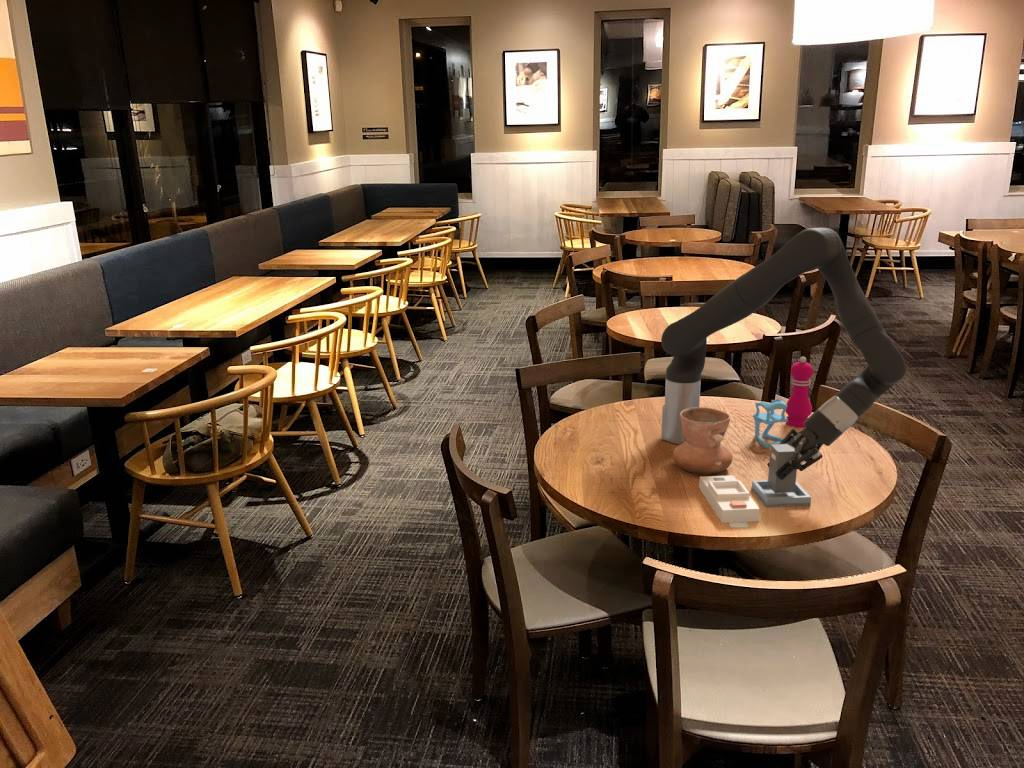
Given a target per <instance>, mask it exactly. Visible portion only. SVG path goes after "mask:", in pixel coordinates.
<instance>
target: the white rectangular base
mask: <svg viewBox="0 0 1024 768" xmlns="http://www.w3.org/2000/svg"><path fill="white" fill-rule="evenodd" d="M698 485H699V486H698V489H699V490H700V493H702V494H703V497H705V499H706V501H707V503H708V504H709V505H710V507H711V509H712V510H713V511H714V513H715V515H716V516H717V518H718V519H719V520H720V523H721V524H727V523H728V524H729V523H731V524H732V523H752V522H759V521H760V510H761V509H760V508H759V506H758V505H757V503H756V502H755V501H754V500H753V499H752V497H751V496H750V494H751V492H750V491H749V490H748V489H747V488H746V486H745V485H744V484H743V483H742V482H741V480H740V479H737V478H736V477H735V475H734V474H733V475H731V474H730V475H710V476H709V475H708V476H699V484H698Z"/></svg>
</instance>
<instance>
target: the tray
mask: <svg viewBox="0 0 1024 768" xmlns="http://www.w3.org/2000/svg"><path fill="white" fill-rule="evenodd" d="M751 490H752V491H753V492H754V494H756V496H757V497H758V499H760V501H761V502H762V504H764V506H765V507H766V508H773V507H774V508H775V507H776V508H777V507H795V506H797V507H800V506H801V507H802V506H811V503H812V496H811V495H810V494H809V493H808V492H807V491H806V490H805V489H804V487H803V486H801V485H800V484H799V482H797V481H796V484H795V492H789V493H774V492H773V490H772V489H771V488H770V487H769V486H768V479H763V480H758V479H757V480H752V481H751Z"/></svg>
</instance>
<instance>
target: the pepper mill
mask: <svg viewBox="0 0 1024 768" xmlns="http://www.w3.org/2000/svg"><path fill="white" fill-rule="evenodd" d="M790 374H791V376H792V378H791V384H792V392H791V394H790V397H788V400H787V402H786V403H785V404H786V405H787V409H786V411H785V413H786V415H787V416H785V418H788V421H787V422H785V424H786V425H787V426H789V427H792V428H796V429H797V428H798V429H799V428H800V429H802V428H803V429H805V428H806V426H805V425H804V421H806V420H807V419H808V418H809V417H810V416H811V415H812V414H813V406H812V403H811V400H810V398H809V386H810V385H811V382H812V381H811V378H812V376H813V375H814V367H813V366H812V364H810V363H809V362H808V361H807V358H806V357H805V356H800V357H799V361H796V362H795V363H793V364H792V366H791V368H790Z"/></svg>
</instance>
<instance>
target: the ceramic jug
mask: <svg viewBox="0 0 1024 768" xmlns="http://www.w3.org/2000/svg"><path fill="white" fill-rule="evenodd" d="M680 421H681V426H682V432H683V438H684V443H682V444H678V445H677V446H676V447H675V449H674V450H673V453H672V457H673V458H672V459H673V460H674V462H675V464H676V465H677V466H679V468H681V469H683V470H684V471H687V472H691V473H695V474H703V475H705V474H706V475H710V474H716V473H721V472H722V471H725V470H727V469H728V468H729V467H730V466H731V464H732V462H733V459H734V458H733V454H732V452H731V451H730V450H729V449H728V448H727V447H726V446H725V445H723V444H722V443H721V442H722V441H723V440H724V439H725V438H724V437H725V435H726V432H727V431H728V428H729V425H730V423H731V422H730V421H731V416H730V414H729V413H727V412H726V411H724V410H723V411H722V410H719V409H716V408H709V407H705V406H704V407H703V406H699V407H692V408H688V409H684V410H682V411H681V412H680Z"/></svg>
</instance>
